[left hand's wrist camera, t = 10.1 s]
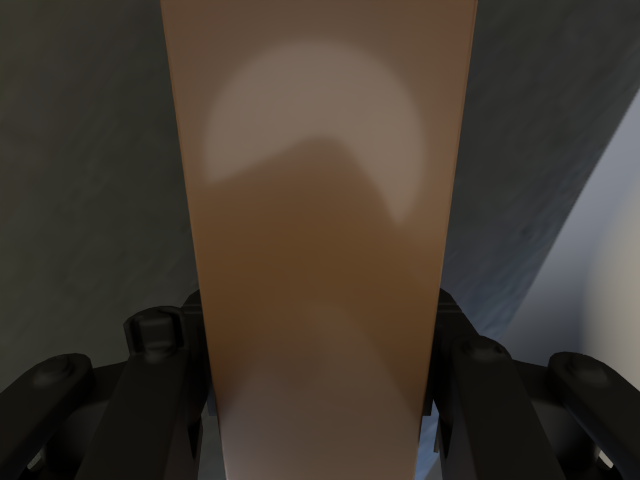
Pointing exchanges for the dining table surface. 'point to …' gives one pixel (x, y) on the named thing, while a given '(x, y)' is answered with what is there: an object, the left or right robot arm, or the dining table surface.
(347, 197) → the bar
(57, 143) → the dining table surface
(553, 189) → the dining table surface
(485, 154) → the dining table surface
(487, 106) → the dining table surface
